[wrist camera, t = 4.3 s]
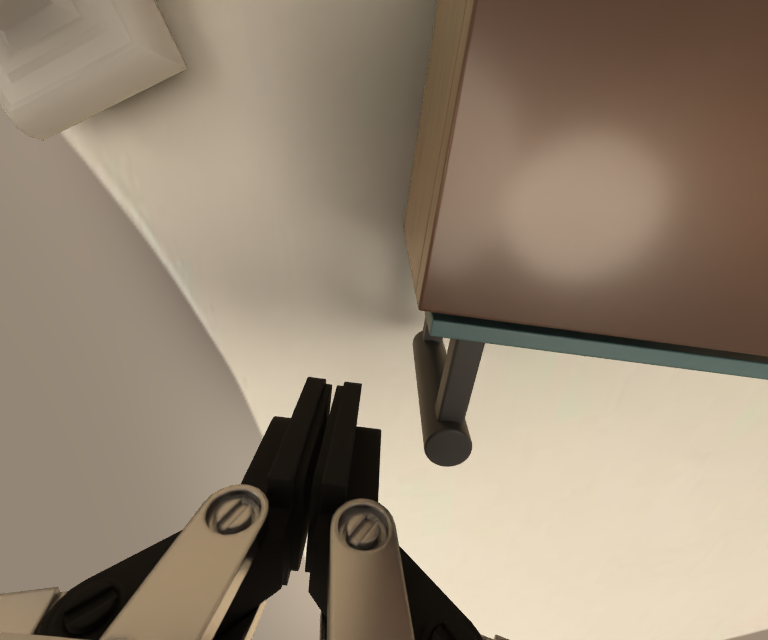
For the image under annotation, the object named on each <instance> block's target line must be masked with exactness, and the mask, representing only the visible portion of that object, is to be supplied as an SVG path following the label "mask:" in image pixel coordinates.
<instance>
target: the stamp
mask: <svg viewBox="0 0 768 640" xmlns="http://www.w3.org/2000/svg"><path fill="white" fill-rule="evenodd" d="M186 69H187V67H186V65H185V63H184V60H183V58H182V56H181V54H180V52H179V50H178V48H177V46H176V44H175V42H174V40H173V38H172V36H171V34H170V32H169V30H168V28H167V26H166V24H165V22H164V20H163V18H162V16H161V14H160V12H159V10H158V7H157V5H156V3H155V1H154V0H0V105H1V106H2V107H3V109H4V110H5V112H6V113H7V115H8V116H9V118H10V119H11V121H12V122H13V124H14V125H15V127H16V128H17V129H19V130H20V131H22V132H23V133H25V134H27V135H28V136H30V137H33V138H37V139H41V140H45V139H47V138H49V137H51V136H53V135H55V134H57V133H59V132H61V131H63V130H65V129H67V128H69V127H71V126H73V125H75V124H77V123H79V122H81V121H83V120H85V119H87V118H89V117H91V116H93V115H95V114H97V113H99V112H101V111H103V110H105V109H107V108H109V107H111V106H113V105H115V104H117V103H119V102H121V101H123V100H125V99H127V98H129V97H131V96H133V95H135V94H137V93H139V92H141V91H143V90H146V89H148V88H150V87H152V86H154V85H156V84H158V83H160V82H162V81H164V80H166V79H168V78H170V77H172V76H174V75H176V74H178V73H180V72H182V71H184V70H186Z"/></svg>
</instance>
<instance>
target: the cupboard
mask: <svg viewBox="0 0 768 640" xmlns="http://www.w3.org/2000/svg"><path fill="white" fill-rule="evenodd" d="M404 232H405V238H406V244H407V249H408V255H409V261H410V266H411V272H412V278H413V283H414V289H415V294H416V299H417V304H418V309H419V310H420V311H427V312H434V313H442V314H450V315H457V316H465V317H472V318H480V319H487V320H495V321H503V322H510V323H518V324H525V325H533V326H540V327H548V328H556V329H563V330H571V331H578V332H586V333H593V334H601V335H609V336H616V337H624V338H631V339H639V340H646V341H654V342H661V343H669V344H677V345H684V346H692V347H699V348H707V349H714V350H722V351H730V352H737V353H745V354H752V355H760V356H767V357H768V0H438V1H437V8H436V15H435V21H434V28H433V35H432V41H431V48H430V55H429V61H428V68H427V75H426V81H425V88H424V95H423V101H422V108H421V114H420V121H419V128H418V134H417V141H416V148H415V154H414V161H413V168H412V174H411V181H410V188H409V194H408V201H407V208H406V214H405V221H404Z"/></svg>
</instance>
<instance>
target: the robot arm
mask: <svg viewBox="0 0 768 640" xmlns="http://www.w3.org/2000/svg"><path fill="white" fill-rule="evenodd" d="M361 387H362V384H359V383H351V382H345V383H344V386H338V385H337V388H336V392H335V396H334V400H333V403H332V407H331V411H330V403H331V392H332V385H330V384H326V379H320V378H313V377H308V378H307V380H306V383H305V385H304V388H303V390H302V393H301V395H300V398H299V400H298V402H297V405H296V407H295V410H294V412H293V415H292V417H291V418H285V417H277V416H275V417H273V419H272V421H271V423H270V425H269V427H268V429H267V431H266V433H265V435H264V437H263V439H262V441H261V443H260V445H259V447H258V450H257V452H256V454H255V456H254V458H253V460H252V462H251V464H250V466H249V468H248V470H247V472H246V474H245V476H244V479H243V481H242V483H241V484H239V485H231V486H228V487H225V488H222V489H220V490H218V491H217V492H215V493H214V494H212V495H211V496H210V497H209V498H208V499H207V500H206V501H205V502H204V503H203V504H202V505H201V507H200V508H199V509H198V511H197V512H196V513H195V515H194V516H193V517H192V519H191V520H190V521H189V522H188V524H187V525H186V526H185V528H184V529H183V530H181V531H180V532H177V533H176V534H174V535H172V536H170V537H168V538H166V539H164V540H162V541H160V542H158V543H156V544H154V545H152V546H150V547H148V548H146V549H145V550H143V551H141V552H139V553H137V554H135V555H133V556H131V557H129V558H127V559H125V560H123V561H121V562H119V563H118V564H116V565H114V566H112V567H110V568H108V569H106V570H104V571H102V572H100V573H98V574H96V575H95V576H92V577H91V578H88V579H87V580H85V581H83V582H82V583H80V584H78V585H77V586H76V587H74V588H72V589H71V590H69V591H67V592H60V591H59V588H58V587H53V588H45V589H36V590H28V591H20V592H12V593H4V594H0V640H251V639H252V637H253V635H254V632H255V630H256V628H257V625H258V623H259V621H260V618H261V616H262V614H263V611H264V608H265V604H266V601H267V599H268V598H269V597H270V596H272V595H273V594H274V593H276V592H277V591H278V590H280V589H281V587H282V585H287V583H288V579H289V575H290V572H291V570H293V571H298V570H299V567H300V564H301V559H302V555H303V551H304V547H305V542H306V538H307V534H308V540H307V552H306V565H305V572H310V580H309V593H310V595H311V596H312V598H313V599H314V601H315V602H316V604H317V605H318V607H319V608H320V610H321V615H320V640H509V639H506V638H503V637H501V636H498V635H495V637H494V639H491V638H488V637H486V636H483V635H481V634H480V633H479V632H478V630H477V629H476V628H475V626H474V625H473V624H472V622H471V621H470V620H469V619H468V618H467V617H466V616H465V615H464V614H463V613H462V612H461V611H460V610H459V609H458V608H457V606H456V605H455V604H454V603H453V602H452V601H451V600H450V599H449V598H448V597H447V596H446V595H445V594H444V593H443V592H442V591H441V590H440V588H439V587H438V586H437V585H436V584H435V583H434V582H433V581H432V580H431V579H430V578H429V577H428V576H427V575H426V574H425V573H424V571H423V570H422V569H421V568H420V567H419V566H418V565H417V564H416V563H415V562H414V561H413V560H412V559H411V558H410V557H409V556H408V555H407V553H406V552H405V551H404V550H403V549H402V548H401V547H400V546H399V543H398V538H397V532H396V526H395V523H394V520H393V517H392V515H391V514H390V512H389V511H388V510H387V509H386V508H385V507H384V506H382V505H381V504H380V503H378V490H379V468H380V446H381V429H373V428H365V427H357V426H356V425H357V417H358V410H359V402H360V395H361ZM329 413H330V415H329Z"/></svg>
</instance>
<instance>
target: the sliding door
mask: <svg viewBox="0 0 768 640" xmlns="http://www.w3.org/2000/svg"><path fill="white" fill-rule="evenodd" d="M443 337H444V338H450V343H449V347H448V351H447V354H446V351H445V347H444V344H443V340H442V339H443ZM485 343H490V344H498V345H505V346H513V347H521V348H528V349H536V350H544V351H551V352H559V353H567V354H574V355H582V356H590V357H597V358H605V359H613V360H621V361H628V362H636V363H644V364H651V365H659V366H667V367H674V368H682V369H690V370H697V371H705V372H713V373H720V374H728V375H736V376H744V377H751V378H759V379H767V380H768V357H767V356H760V355H752V354H745V353H737V352H730V351H722V350H714V349H707V348H699V347H692V346H684V345H677V344H669V343H661V342H654V341H646V340H639V339H631V338H624V337H616V336H609V335H601V334H593V333H586V332H578V331H571V330H563V329H556V328H548V327H540V326H533V325H525V324H518V323H510V322H503V321H495V320H487V319H480V318H472V317H465V316H457V315H450V314H442V313H434V312H427V311H425V322H424V327H423V331H421V332H419V333H418V334H417V335H416V336H415V337H414V339H413V352H414V361H415V370H416V379H417V388H418V397H419V406H420V415H421V424H422V433H423V442H424V450H425V454H426V456H427V457H428V458H429V460H431V461H432V462H433V463H435V464H437V465H440V466H455V465H458V464H460V463H462V462H464V461H465V460H466V459H467V458H468V457H469V455H470V453H471V451H472V442H471V438H470V435H469V431H468V428H467V424H466V421H465V416H466V412H467V408H468V404H469V401H470V397H471V393H472V389H473V386H474V382H475V378H476V374H477V371H478V367H479V363H480V360H481V356H482V352H483V348H484V345H485Z"/></svg>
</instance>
